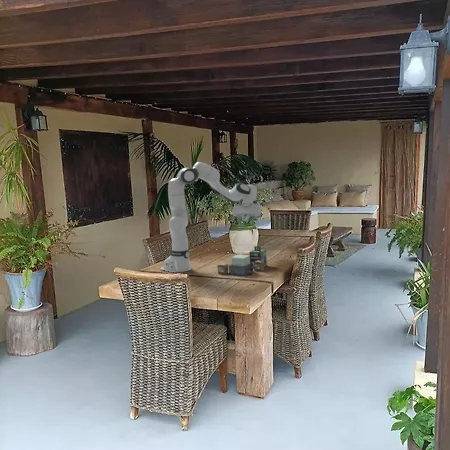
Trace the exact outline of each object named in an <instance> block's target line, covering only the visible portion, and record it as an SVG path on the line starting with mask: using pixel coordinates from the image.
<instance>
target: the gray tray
mask: <svg viewBox="0 0 450 450" xmlns="http://www.w3.org/2000/svg"><path fill="white" fill-rule="evenodd" d="M251 272H252V273H253V272H254V268H253V263H250V264H248V265H246V266H233V265H232V263H230V264H228V275H231V276H242V277H246V276H248V275H250V274H252V273H251Z"/></svg>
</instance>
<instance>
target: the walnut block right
mask: <svg viewBox="0 0 450 450" xmlns="http://www.w3.org/2000/svg"><path fill="white" fill-rule="evenodd" d="M262 270H263V271H264V270H265V267H264V261H256V262H254V268H253V272H263V271H262Z"/></svg>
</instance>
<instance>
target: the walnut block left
mask: <svg viewBox="0 0 450 450" xmlns="http://www.w3.org/2000/svg"><path fill="white" fill-rule="evenodd" d="M217 274H218V275H226V274H227V275H228V274H229V264H228V263H220V264H217Z"/></svg>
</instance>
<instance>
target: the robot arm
mask: <svg viewBox="0 0 450 450" xmlns="http://www.w3.org/2000/svg"><path fill="white" fill-rule="evenodd" d="M176 174H177V175H176V176H175V178H171V179H170V180H169V181H168V185H167V192H168V193H167V194H168V195H167V196H168V204H169V210H170V213H171V217H170V219H169V221H168V227H169V228H168V229H169V233H170V237H171V245H172V246H171V248H172V249H171V250H170V251H169V252H168V253H170V255H169V256H168V257H167V258H166V259H164V261H163V266H161V267H160V269H159V270H160V271H163V270H165V272H168V271H169V273H173V272H174V273H183V272H188V271H191V270H192V266H191V261H190V249H189V239H188V235H187V230H186V229H187V226H188V225H189V217H188V212H187V208H186V199H185V198H186V197H185V186H186V185H189V184H190V185H191V184H193V183H194V182H195V181H197V179H200V180H203V181H204V182H206V183H207V184H208V185H209V186H210V188H211V189H212V190H214V191H215V192H217V193H218V194H220V195H221V196H223V197H224V198H225V199H226V200H227V201H228V202H229V203H231V204H235V205H234V206H233V209H232V210H231V211H232V212H231V215H232V216H233V217H241V218H242V222H247V221H248V219H250V217H261V214H262V209H261V208H262V207H261V204H260V201H258V200H257V195H258V188H257V187H256V185H253V184H245V183H243V182H238V183H236V184H235V185H234V187H232V188H231V189H228V188H227V187H225V186H224V185H223V184H222V183H220V179H221V175H220V171H219V170H218V169H217V168H215V167H213V166H211V165H209V164H208V163H205V162H201V161H197V162H196V163H194V165H193V166H192V167H183V168H180V169H179V171H178V172H177V173H176ZM241 200H242V203H241V204H238V203H239V202H240V201H241ZM174 273H173V274H174Z"/></svg>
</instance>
